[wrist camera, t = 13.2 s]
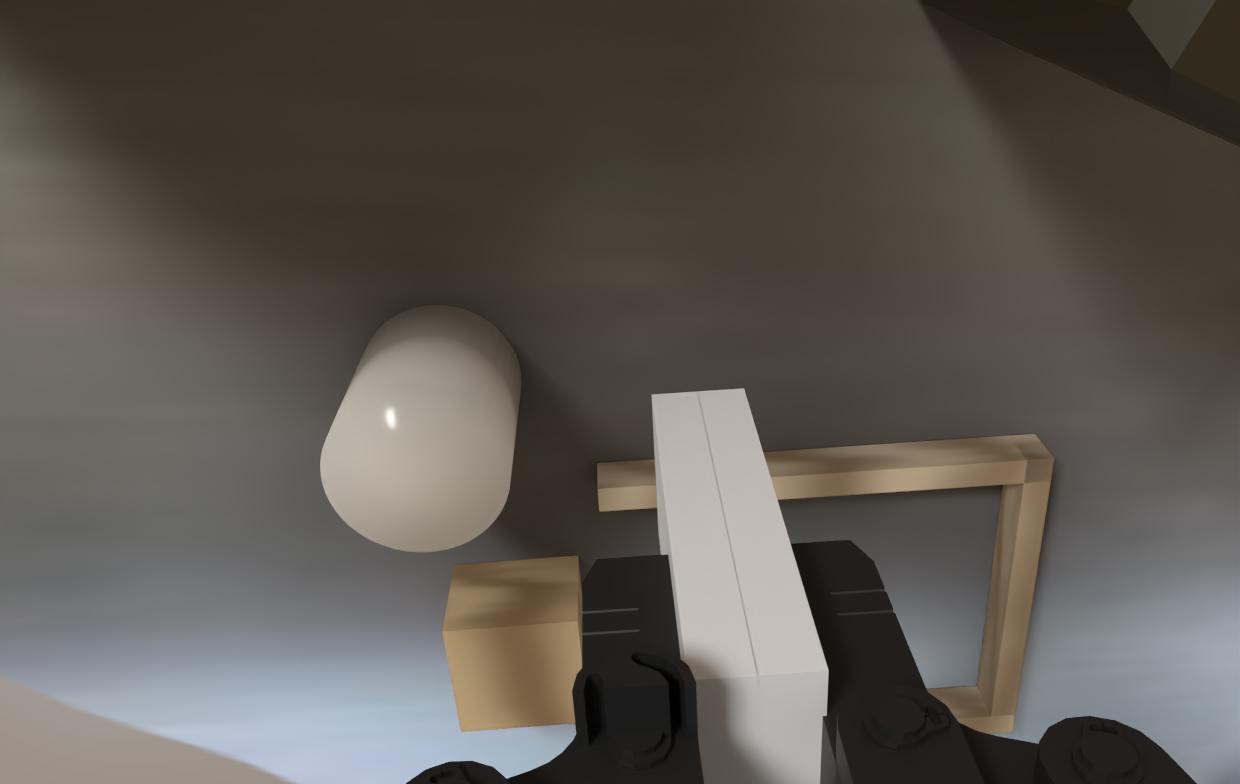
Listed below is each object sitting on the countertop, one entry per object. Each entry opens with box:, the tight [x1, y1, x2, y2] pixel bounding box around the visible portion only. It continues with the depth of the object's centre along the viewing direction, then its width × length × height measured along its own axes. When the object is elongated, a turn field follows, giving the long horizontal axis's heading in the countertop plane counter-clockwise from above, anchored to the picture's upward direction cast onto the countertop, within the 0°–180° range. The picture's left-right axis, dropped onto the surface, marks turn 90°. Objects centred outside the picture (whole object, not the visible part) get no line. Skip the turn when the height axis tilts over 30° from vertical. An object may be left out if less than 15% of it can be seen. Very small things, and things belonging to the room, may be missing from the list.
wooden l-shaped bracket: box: [597, 434, 1054, 734], centre depth 51 cm, size 20×16×2 cm
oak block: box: [442, 556, 582, 732], centre depth 50 cm, size 6×6×5 cm
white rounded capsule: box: [320, 305, 522, 552], centre depth 42 cm, size 7×7×8 cm
